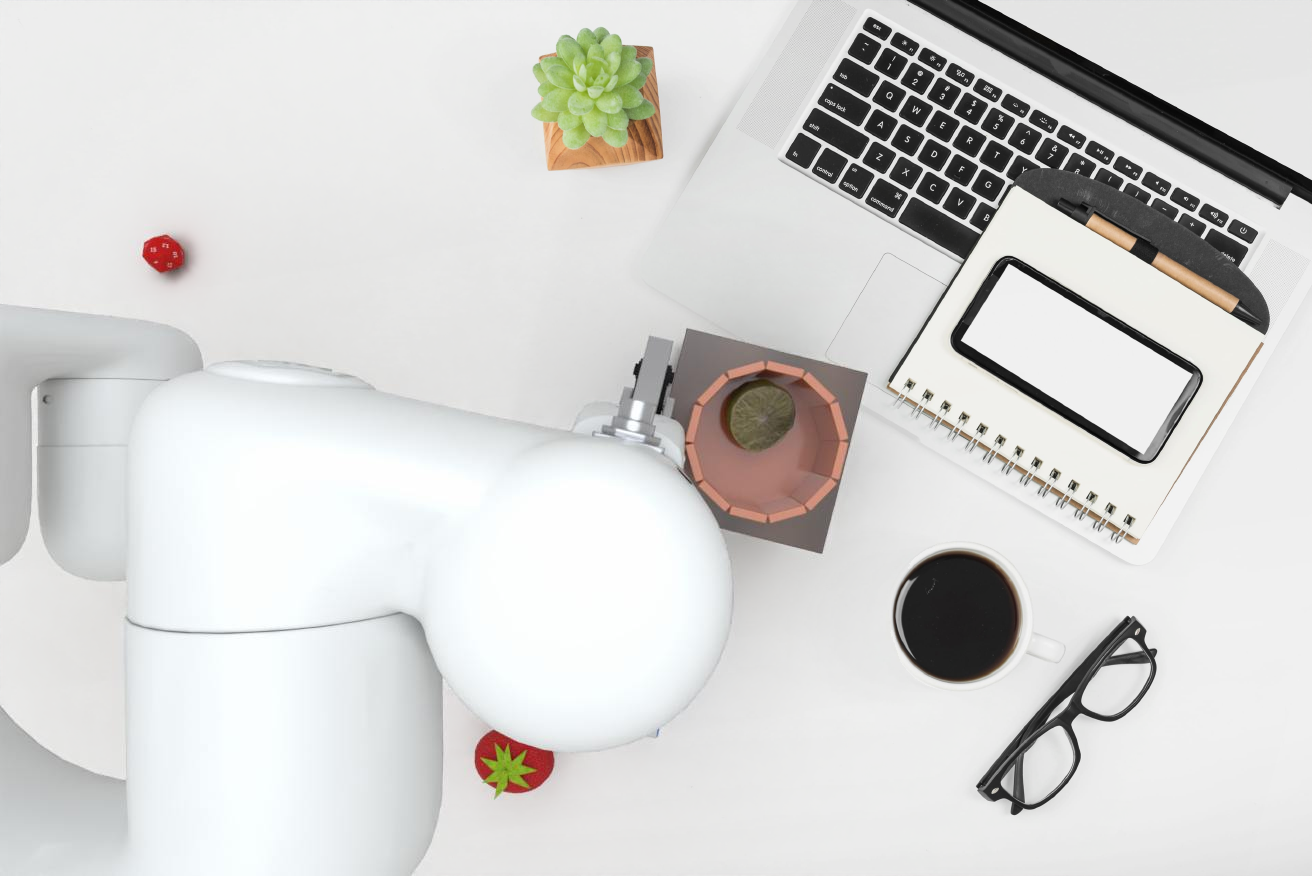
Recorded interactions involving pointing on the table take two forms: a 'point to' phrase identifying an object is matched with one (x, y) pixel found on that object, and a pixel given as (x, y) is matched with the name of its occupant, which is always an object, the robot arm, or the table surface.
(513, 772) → the strawberry
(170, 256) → the die
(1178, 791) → the table surface
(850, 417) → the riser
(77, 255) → the table surface
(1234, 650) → the table surface
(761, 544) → the table surface
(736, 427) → the lime
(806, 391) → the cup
